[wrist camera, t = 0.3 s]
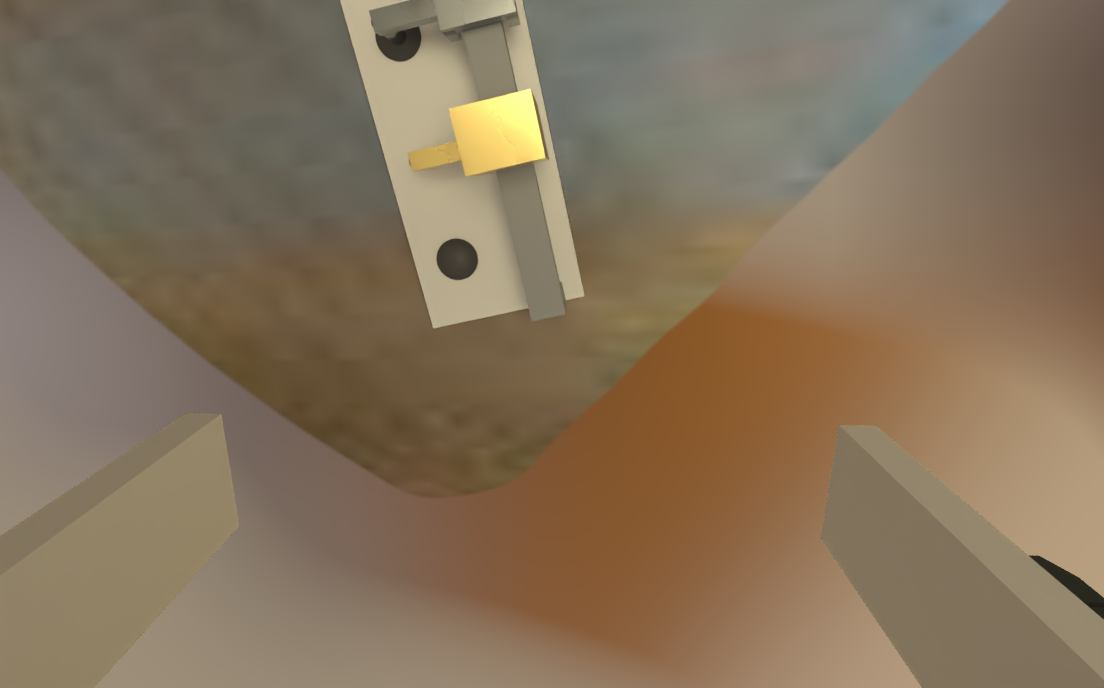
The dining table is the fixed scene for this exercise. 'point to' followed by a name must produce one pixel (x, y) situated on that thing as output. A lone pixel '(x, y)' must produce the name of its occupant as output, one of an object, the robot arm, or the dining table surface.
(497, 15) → the fixed leg
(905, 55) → the dining table surface
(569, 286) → the hole plate
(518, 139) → the block
